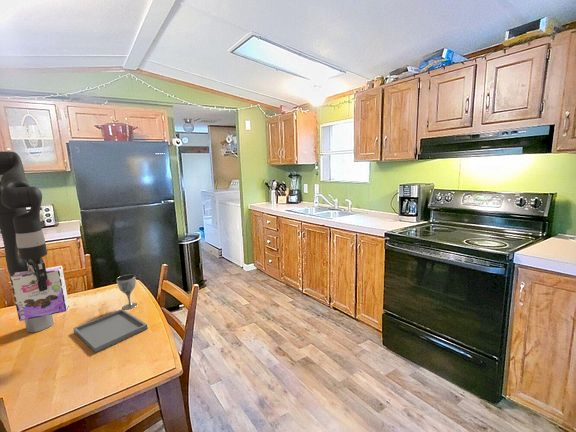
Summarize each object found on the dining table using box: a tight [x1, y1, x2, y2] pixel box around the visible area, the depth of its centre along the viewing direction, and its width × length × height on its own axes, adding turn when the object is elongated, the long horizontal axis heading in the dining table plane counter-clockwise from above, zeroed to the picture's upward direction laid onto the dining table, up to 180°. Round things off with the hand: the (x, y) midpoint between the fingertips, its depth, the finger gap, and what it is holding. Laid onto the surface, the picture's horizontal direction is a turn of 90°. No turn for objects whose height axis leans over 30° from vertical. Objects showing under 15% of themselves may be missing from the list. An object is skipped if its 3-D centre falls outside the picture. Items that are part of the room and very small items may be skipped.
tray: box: [72, 308, 148, 354], centre depth 124 cm, size 24×20×2 cm
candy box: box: [10, 265, 70, 322], centre depth 107 cm, size 14×6×16 cm, turn 118°
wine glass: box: [116, 273, 138, 311], centre depth 144 cm, size 8×8×15 cm
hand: (40, 287), depth 107 cm, fingers closed on candy box, 7 cm apart
